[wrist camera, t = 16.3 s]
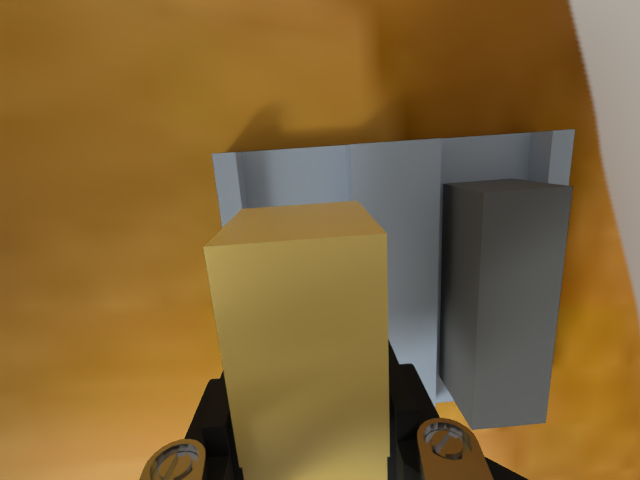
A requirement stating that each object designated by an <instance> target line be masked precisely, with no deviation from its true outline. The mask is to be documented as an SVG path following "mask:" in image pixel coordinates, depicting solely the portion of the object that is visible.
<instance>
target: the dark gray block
mask: <svg viewBox="0 0 640 480" xmlns="http://www.w3.org/2000/svg"><path fill="white" fill-rule="evenodd" d="M572 190H573V186H566V185H559V184H551V183H543V182H536V181H528V180H520V179H513V178H512V179H498V180H485V181H472V182H458V183H445V184H443V214H442V261H441V308H440V355H439V376H440V378H441V380H442V381H443V383H444V385H445V386H446V388H447V390H448V391H449V393H450V395H451V396H452V398H453V400H454V401H455V403H456V405H457V406H458V408H459V409H460V411H461V413H462V414H463V416H464V418H465V419H466V421H467V423H468V424H469V426H470V428H471V429H472V430H476V429H486V428H497V427H507V426H518V425H529V424H539V423H546V415H547V406H548V398H549V389H550V380H551V372H552V363H553V354H554V346H555V337H556V328H557V320H558V311H559V302H560V294H561V285H562V276H563V268H564V259H565V251H566V242H567V233H568V225H569V216H570V207H571V199H572Z"/></svg>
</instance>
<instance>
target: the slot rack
mask: <svg viewBox="0 0 640 480" xmlns="http://www.w3.org/2000/svg"><path fill="white" fill-rule="evenodd" d="M574 135H575V129H569V130H555V131H542V132H530V133H515V134H500V135H486V136H471V137H456V138H436V139H421V140H407V141H392V142H377V143H362V144H349V145H338V146H323V147H308V148H293V149H279V150H264V151H249V152H229V153H214V154H212V159H213V166H214V173H215V181H216V188H217V195H218V202H219V209H220V216H221V223H222V228H223V227H224V226H225V225H226V224H227V223H228V222H229V221H230V220H231V219H232V218H233V217H234V216H235V215H236V214H237V213H238V212H239V211H240V210H241V209H247V208H261V207H275V206H289V205H303V204H317V203H331V202H345V201H358V202H359V203H360V204H361V205H362V206H363V208H364V209H365V210H366V211H367V212H368V213H369V214H370V215H371V216H372V218H373V219H374V220H375V221H376V222H377V223H378V224H379V225H380V226H381V227H382V229H383V230H384V231H385V232H386V233H387V277H388V339H389V341H390V344H391V346H392V348H393V351H394V353H395V355H396V358H397V360H398V362H399V364H408V363H412V364H413V365H414V367H415V369H416V371H417V373H418V375H419V377H420V379H421V381H422V383H423V385H424V387H425V389H426V391H427V393H428V395H429V397H430V399H431V401H432V403H433V405H434V407H435V404H436V403H439V402H451V401H454V400H453V398H452V396H451V395H450V393H449V391H448V390H447V388H446V386H445V385H444V383H443V381H442V380H441V378H440V376H439V355H440V308H441V261H442V214H443V184H445V183H458V182H472V181H485V180H498V179H512V178H513V179H520V180H528V181H536V182H543V183H551V184H559V185H566V186H569V178H570V170H571V161H572V152H573V144H574Z"/></svg>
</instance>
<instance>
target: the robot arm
mask: <svg viewBox="0 0 640 480" xmlns="http://www.w3.org/2000/svg"><path fill="white" fill-rule="evenodd" d="M388 353H389V429H390V457H387V480H528V479H526V478H524V477H522V476H520V475H518V474H517V473H515V472H513V471H511V470H509V469H507V468H505V467H503V466H501V465H499V464H497V463H496V462H494V461H492V460H490V459H488V458H486V457H484V455H483V452H482V450H481V447H480V445H479V443H478V440H477V439H476V437H475V435H474V434H473V433H472V432H471V431H470V430H469V429H468V428H467V427H466V426H464V425H462V424H461V423H459V422H457V421H454V420H451V419H446V418H440V417H439V415H438V413H437V411H436V409H435V407H434V405H433V403H432V401H431V399H430V397H429V395H428V393H427V391H426V389H425V387H424V385H423V383H422V381H421V379H420V377H419V375H418V373H417V371H416V369H415V367H414V365H413V364H412V363H408V364H399V362H398V360H397V358H396V355H395V353H394V351H393V348H392V346H391V344H390V341H389V339H388ZM140 480H244V476H243V470H242V467H239V463H238V457H237V450H236V444H235V438H234V432H233V426H232V420H231V414H230V408H229V401H228V395H227V389H226V383H225V377H224V371H223V372H222V375H221V378H220V379H211V380H210V381H209V382H208V384H207V387H206V389H205V391H204V394H203V396H202V398H201V401H200V403H199V406H198V408H197V410H196V413H195V415H194V417H193V420H192V422H191V425H190V427H189V429H188V432H187V434H186V436H185V439H181V440H177V441H174V442H171V443H169V444H167V445H165V446H163V447H162V448H161V449H159V450H158V451H157V452H155V453H154V454H153V455H152V457H151V458H150V459H149V460H148V461H147V463H146V465H145V467H144V469H143V471H142V474H141V477H140Z"/></svg>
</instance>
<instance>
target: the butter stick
mask: <svg viewBox="0 0 640 480" xmlns="http://www.w3.org/2000/svg"><path fill="white" fill-rule="evenodd" d="M203 248H204V254H205V261H206V267H207V273H208V279H209V285H210V291H211V297H212V303H213V310H214V316H215V322H216V328H217V334H218V340H219V346H220V352H221V359H222V365H223V371H224V377H225V383H226V389H227V395H228V401H229V408H230V414H231V420H232V426H233V432H234V438H235V444H236V450H237V457H238V463H239V467H242V470H243V476H244V480H387V457H390V429H389V353H388V277H387V233H386V232H385V231H384V230H383V229H382V227H381V226H380V225H379V224H378V223H377V222H376V221H375V220H374V219H373V218H372V216H371V215H370V214H369V213H368V212H367V211H366V210H365V209H364V208H363V206H362V205H361V204H360V203H359V202H358V201H345V202H331V203H317V204H303V205H289V206H275V207H261V208H247V209H241V210H240V211H239V212H238V213H237V214H236V215H235V216H234V217H233V218H232V219H231V220H230V221H229V222H228V223H227V224H226V225H225V226H224V227H223V228H222V229H221V230H220V231H219V232H218V233H217V234H216V235H215V236H214V237H213V238H212V239H211V240H210V241H209V242H208V243H207V244H206V245H205V246H204V247H203Z"/></svg>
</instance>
